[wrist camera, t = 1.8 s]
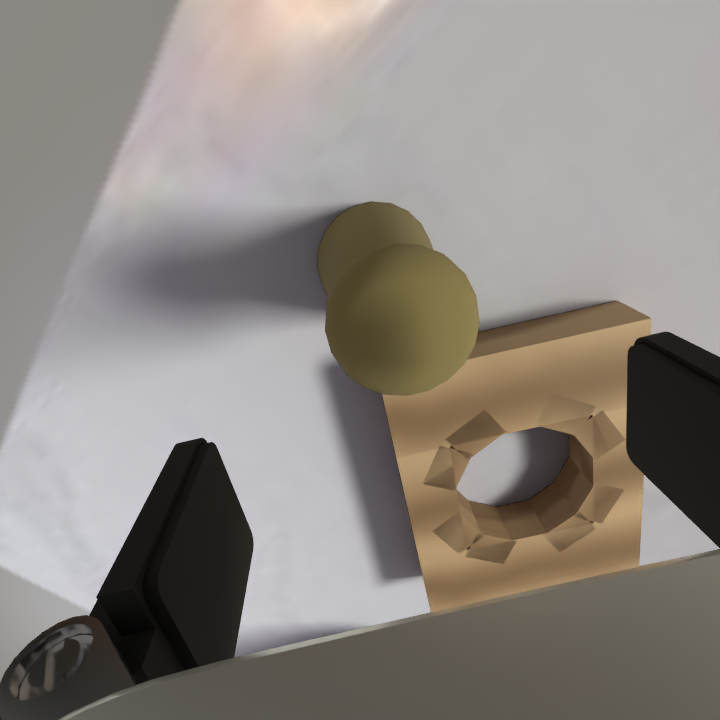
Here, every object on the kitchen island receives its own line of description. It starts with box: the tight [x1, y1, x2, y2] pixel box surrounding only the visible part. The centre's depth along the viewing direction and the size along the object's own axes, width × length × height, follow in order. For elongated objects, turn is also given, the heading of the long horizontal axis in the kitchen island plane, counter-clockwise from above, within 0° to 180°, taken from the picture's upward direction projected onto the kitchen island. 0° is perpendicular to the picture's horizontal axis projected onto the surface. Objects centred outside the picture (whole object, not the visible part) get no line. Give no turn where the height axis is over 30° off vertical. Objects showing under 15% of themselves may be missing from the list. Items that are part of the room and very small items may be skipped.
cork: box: [317, 202, 480, 396], centre depth 19 cm, size 6×6×11 cm
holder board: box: [382, 301, 651, 612], centre depth 29 cm, size 18×14×3 cm
